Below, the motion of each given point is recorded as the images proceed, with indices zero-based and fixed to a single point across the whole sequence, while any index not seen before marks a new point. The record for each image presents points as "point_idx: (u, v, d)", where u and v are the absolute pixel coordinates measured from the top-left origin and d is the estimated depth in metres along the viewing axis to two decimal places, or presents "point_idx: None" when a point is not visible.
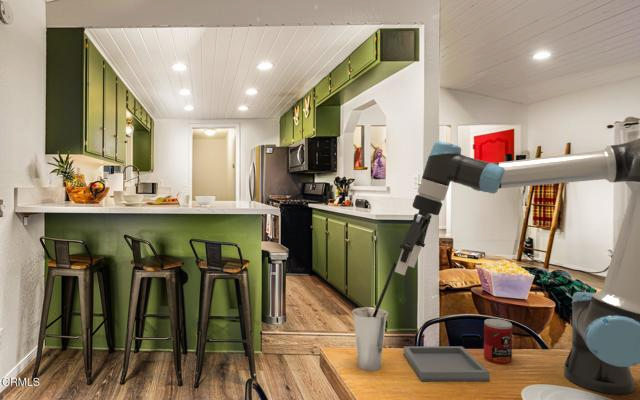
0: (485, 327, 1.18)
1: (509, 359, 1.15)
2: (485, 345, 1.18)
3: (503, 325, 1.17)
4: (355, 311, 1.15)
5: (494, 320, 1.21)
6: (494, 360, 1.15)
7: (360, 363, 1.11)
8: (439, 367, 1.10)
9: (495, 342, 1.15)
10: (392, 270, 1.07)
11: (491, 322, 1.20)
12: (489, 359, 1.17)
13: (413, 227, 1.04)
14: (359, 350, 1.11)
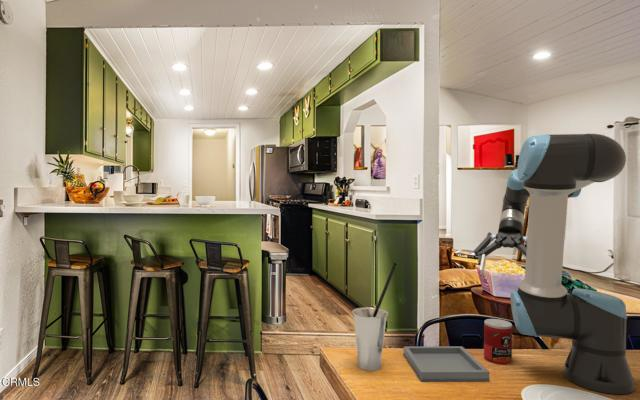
0: (485, 327, 1.18)
1: (509, 359, 1.15)
2: (485, 345, 1.18)
3: (503, 325, 1.17)
4: (355, 311, 1.15)
5: (494, 320, 1.21)
6: (494, 360, 1.15)
7: (360, 363, 1.11)
8: (439, 367, 1.10)
9: (495, 342, 1.15)
10: (392, 270, 1.07)
11: (491, 322, 1.20)
12: (489, 359, 1.17)
13: None
14: (359, 350, 1.11)
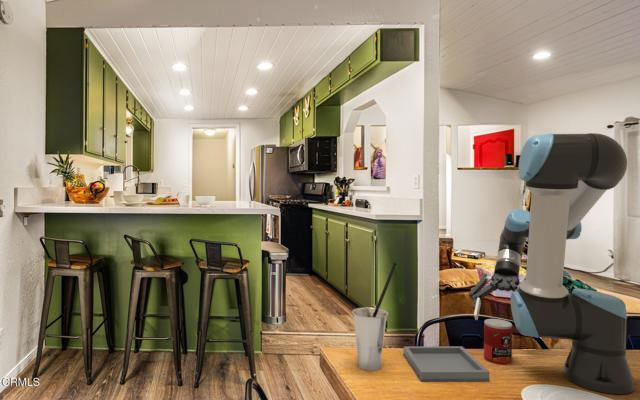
0: (485, 327, 1.18)
1: (509, 359, 1.15)
2: (485, 345, 1.18)
3: (503, 325, 1.17)
4: (355, 311, 1.15)
5: (494, 320, 1.21)
6: (494, 360, 1.15)
7: (360, 363, 1.11)
8: (439, 367, 1.10)
9: (495, 342, 1.15)
10: (392, 270, 1.07)
11: (491, 322, 1.20)
12: (489, 359, 1.17)
13: None
14: (359, 350, 1.11)
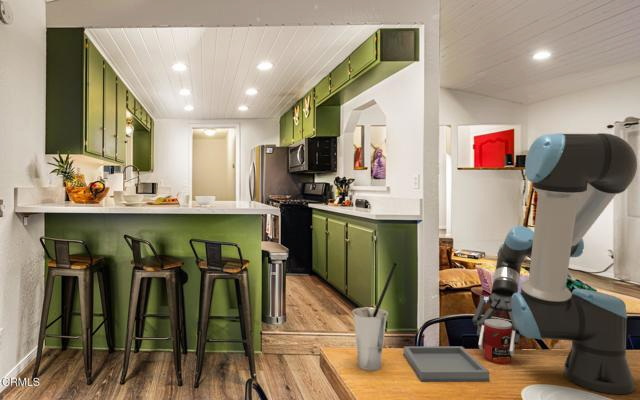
0: (485, 327, 1.18)
1: (509, 359, 1.15)
2: (485, 345, 1.18)
3: (503, 325, 1.17)
4: (355, 311, 1.15)
5: (494, 320, 1.21)
6: (494, 360, 1.15)
7: (360, 363, 1.11)
8: (439, 367, 1.10)
9: (495, 341, 1.15)
10: (392, 270, 1.07)
11: (491, 322, 1.20)
12: (489, 359, 1.17)
13: None
14: (359, 350, 1.11)
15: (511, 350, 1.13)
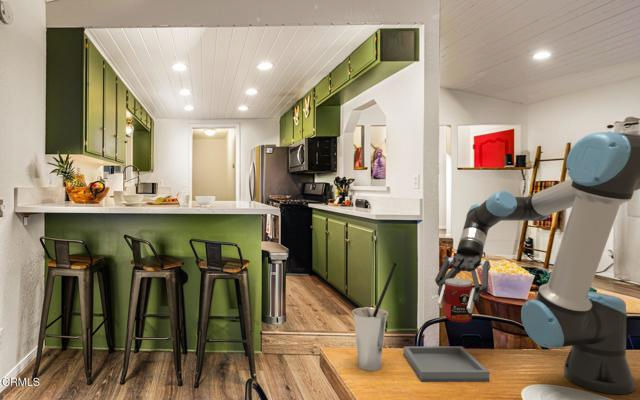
0: (445, 286, 1.18)
1: (468, 317, 1.14)
2: (445, 304, 1.18)
3: (463, 283, 1.16)
4: (355, 311, 1.15)
5: (456, 279, 1.20)
6: (453, 318, 1.15)
7: (360, 363, 1.11)
8: (439, 367, 1.10)
9: (454, 299, 1.14)
10: (392, 270, 1.07)
11: (452, 281, 1.19)
12: (448, 317, 1.16)
13: None
14: (359, 350, 1.11)
15: (468, 307, 1.12)
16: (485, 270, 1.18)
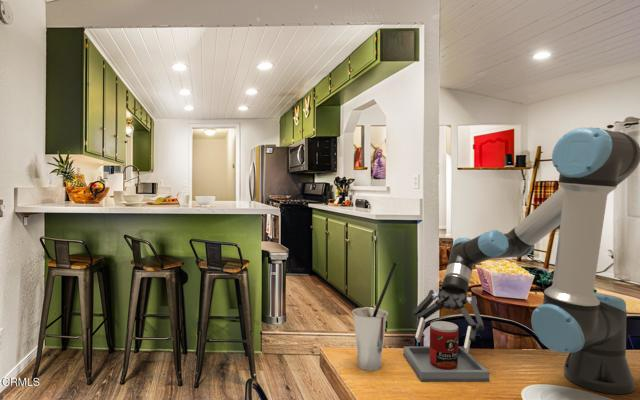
0: (430, 330, 1.12)
1: (454, 364, 1.09)
2: (430, 349, 1.12)
3: (449, 328, 1.11)
4: (355, 311, 1.15)
5: (441, 322, 1.16)
6: (438, 365, 1.10)
7: (360, 363, 1.11)
8: None
9: (440, 345, 1.09)
10: (392, 270, 1.07)
11: (437, 325, 1.14)
12: (434, 364, 1.11)
13: None
14: (359, 350, 1.11)
15: (465, 347, 1.06)
16: (475, 306, 1.13)
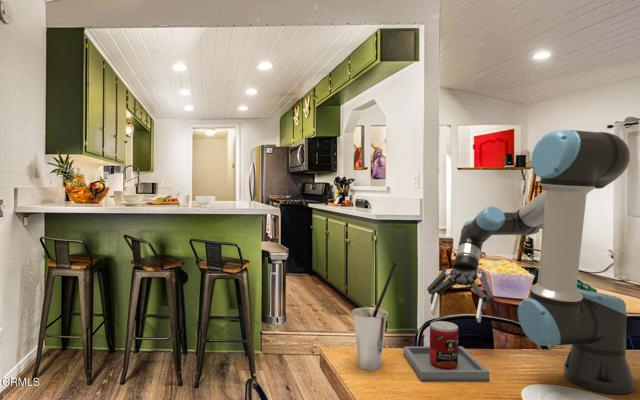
0: (430, 330, 1.13)
1: (454, 364, 1.09)
2: (430, 349, 1.12)
3: (448, 328, 1.11)
4: (355, 311, 1.15)
5: (441, 322, 1.16)
6: (438, 365, 1.10)
7: (360, 363, 1.11)
8: None
9: (440, 345, 1.09)
10: (392, 270, 1.07)
11: (437, 325, 1.14)
12: (434, 364, 1.11)
13: None
14: (359, 350, 1.11)
15: (477, 317, 1.17)
16: (485, 281, 1.24)
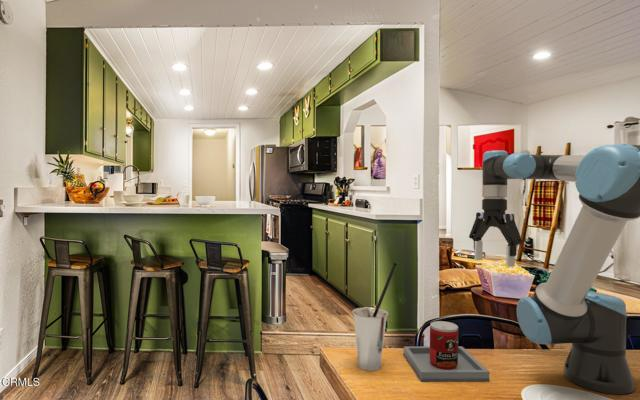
0: (430, 330, 1.13)
1: (454, 364, 1.09)
2: (430, 349, 1.12)
3: (449, 328, 1.11)
4: (355, 311, 1.15)
5: (441, 323, 1.16)
6: (438, 365, 1.10)
7: (360, 363, 1.11)
8: None
9: (440, 345, 1.09)
10: (392, 270, 1.07)
11: (437, 325, 1.14)
12: (434, 364, 1.11)
13: None
14: (359, 350, 1.11)
15: (507, 265, 1.24)
16: (509, 225, 1.24)
